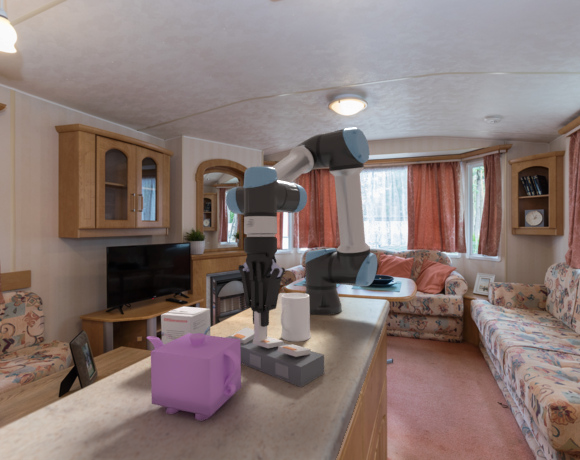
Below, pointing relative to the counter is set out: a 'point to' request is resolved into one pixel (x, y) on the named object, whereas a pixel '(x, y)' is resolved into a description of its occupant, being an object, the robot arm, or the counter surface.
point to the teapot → (195, 373)
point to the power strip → (282, 363)
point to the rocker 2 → (269, 342)
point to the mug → (295, 317)
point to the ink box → (184, 322)
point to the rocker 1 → (244, 335)
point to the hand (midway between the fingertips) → (260, 339)
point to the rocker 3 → (294, 350)
